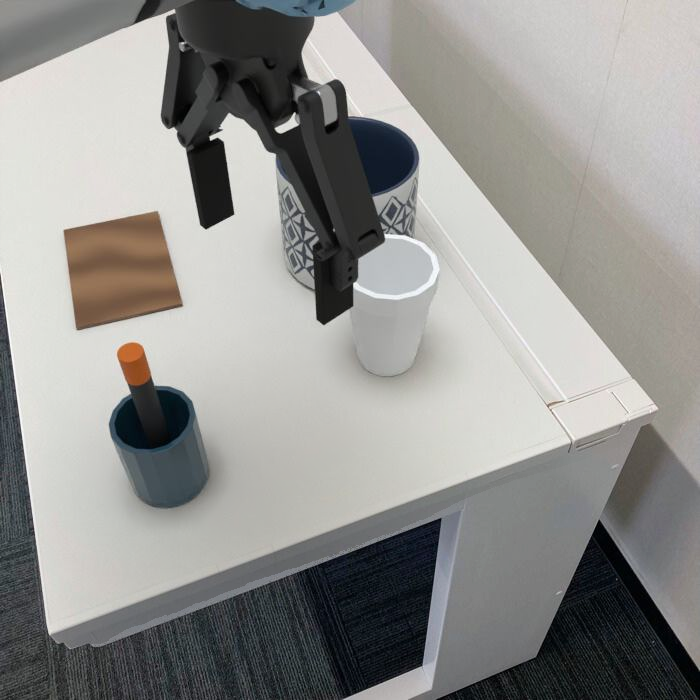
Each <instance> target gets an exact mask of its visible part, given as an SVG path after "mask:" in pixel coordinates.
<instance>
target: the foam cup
mask: <svg viewBox="0 0 700 700" xmlns="http://www.w3.org/2000/svg"><path fill="white" fill-rule="evenodd" d="M384 235H385V242H384V243H383V244H382V245H380V246H378V247H377V248H375V249H374V250H372V251H370V252H369V253H367V254H365V255H364V256H362V257H361V258H359V259H358V279H357V281H356V282H355V283H353V307H351V308H350V309H348V310H349V316H350V323H351V327H352V333H353V338H354V343H355V348H356V353H357V358H358V362H359V363H360V365H361V366H362V367H363V369H364V370H365V371H367V372H370V374H371V373H372V374H373V375H375V376H381V377H394V376H398V375H402V374H404V373H405V372H406V371H408V370H409V369H410V368H411V367H412V366H413V364H414V362H415V359H416V357H417V353H418V351H419V347H420V343H421V340H422V338H423V337H422V336H423V333H424V329H425V326H426V323H427V319H428V316H429V312H430V309H431V306H432V302H433V300H434V298H435V295H436V293H437V290H438V288H439V281H440V273H441V272H440V271H441V269H440V265H439V261H438V257H437V255H436V253H435V252H434V251H433V250H432V249H431V248H429V247H428V245H426V244H425V243H424V242H423V241H420V240H417V239H415V238H414V239H413V238H410V237H408V236H404V235H392V234H384Z"/></svg>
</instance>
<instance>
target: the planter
mask: <svg viewBox="0 0 700 700" xmlns="http://www.w3.org/2000/svg"><path fill="white" fill-rule="evenodd" d="M348 118H349V124H350V127H351V131H352V134H353V137H354V140H355V143H356V146H357V150H358V153H359V156H360V159H361V162H362V165H363V169H364V172H365V175H366V178H367V181H368V185H369V188H370V191H371V194H372V197H373V200H374V204H375V207H376V210H377V213H378V216H379V219H380V223H381V226H382V229H383V232H384V234H392V235H404V236H408V237H410V238H413V239H415V231H416V219H417V218H416V217H417V204H418V189H419V177H420V176H419V175H420V161H421V158H420V152H419V149H418V147H417V144H416V143H415V142H414V140H413V139H412V138H411V136H409V135H408V134H407V133H406V132H404V131H403V130H402V129H400V128H398V127H396V126H395V125H393V124H391V123H388V122H385V121H383V120H379V119H376V118H370V117H364V116H353V115H350V116H349V115H348ZM274 159H275V163H274V164H275V175H276V185H277V186H276V187H277V197H278V198H277V199H278V209H279V221H280V229H281V231H280V232H281V241H282V251H283V258H284V262H285V265H286V267H287V269H288V270H289V272H290V273H291V275H292V276H293V277H294V278H296V280H297V281H299V282H300V283H302V285H304V286H306V287H308V288H310V289H311V290H314V291H315V285H314V266H313V248H312V246H313V245H315V244H317V243H318V242H320V240H319V238H318V236H317V234H316V232H315V230H314V228H313V226H312V224H311V222H310V220H309V218H308V216H307V214H306V212H305V211H304V209H303V207H302V205H301V203H300V201H299V199H298V197H297V195H296V193H295V191H294V189H293V187H292V185H291V183H290V181H289V179H288V177H287V175H286V173H285V171H284V169H283V167H282V165H281V163H280V161H279V159H278V157H277V155H276V154H275V158H274ZM333 231H335V230H334V229H333Z"/></svg>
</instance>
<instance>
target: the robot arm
mask: <svg viewBox="0 0 700 700" xmlns="http://www.w3.org/2000/svg"><path fill="white" fill-rule="evenodd" d="M357 1H358V0H0V83H2V82H4V81H7V80H9V79H12V78H14V77H16V76H18V75H21V74H23V73H24V72H27V71H29V70H31V69H35V68H36V67H38V66H41V65H43V64H45V63H48V62H50V61H53V60H55V59H57V58H60V57H61V56H64V55H67V54H68V53H70V52H73V51H75V50H77V49H79V48H83V47H84V46H86V45H89V44H91V43H93V42H96V41H98V40H100V39H102V38H105V37H107V36H109V35H112V34H115V33H116V32H119V31H120V30H123V29H127V28H129V27H132V26H134V25H136V24H138V23H139V24H140V23H141V22H143V21H145V20H149V19H152V18H155V17H159V16H161V15H164V14H166V13H169V12H171V11H174V13H171V14H168V15H166V17H165V24H166V25H165V26H166V33H167V34H166V35H167V41H168V53H167V61H166V69H165V76H164V84H163V93H162V99H161V100H162V101H161V110H160V120H161V123H162V124H163V126H164V127H165V128H166V129H167V130H171V129H173V128H174V130H176V131H177V132H176V138H177V141H178V142H179V144H180V145H181V146H182V148H184V149H185V153H186V159H187V163H188V164H187V165H188V169H189V175H190V181H191V184H192V189H193V195H194V200H195V206H196V210H197V211H196V212H197V216H198V220H199V226H201V227H202V228H203V229H204V230H209V229H211V228H212V227H214V226H216V225H218V224H220V223H222V222H223V221H225V220H227V219H229V218H230V217H233V216H235V208H234V202H233V195H232V188H231V181H230V174H229V167H228V161H227V160H228V159H227V154H226V148H225V147H226V146H225V141H224V140H222V139H221V138H219V137H218V136H217V137H216V138H213V139H211V137H212V136H214V135H216V134H218V133H220V132H223V131H224V129H223V128H221V127H222V126H221V125H222V124H223V122H224V121H225V119H226V118H227V117H228V115H229V114H230V115H231V116H233V117H235V118H236V119H240V120H243V121H244V122H245V123H247V125H248V126H249V127H250V128H251V129H252V130H254V131H255V132H256V134H257V136H258V137H259V140H260V141H261V143H262V146H263V147H264V149H265V151H266V152H268V153H271V154H274V155H275V156H276V155H277V157H278V159H279V161H280V163H281V165H282V167H283V169H284V171H285V173H286V175H287V177H288V179H289V181H290V183H291V185H292V187H293V189H294V191H295V193H296V195H297V197H298V199H299V201H300V203H301V205H302V207H303V209H304V211H305V212H306V214H307V216H308V218H309V220H310V222H311V224H312V226H313V228H314V230H315V232H316V234H317V236H318V238H319V240H320V242H318V243H317V244H315V245H313V246H312V248H313V266H314V285H315V290H314V301H315V303H314V304H315V319H316V321H317V322H318V323H320V324H321V325H322V326H326V325H327V324H329V323H330V322H332V321H333V320H335V319H336V318H338V317H340V316H341V315H342V314H344V313H345V312H348V310H349V309H350V308H351V307H353V283H355V282H356V281H357V279H358V259H359V258H361V257H362V256H364V255H365V254H367V253H369V252H370V251H372V250H374V249H375V248H377V247H378V246H380V245H382V244H383V243H384V242H385V235H384V232H383V229H382V226H381V223H380V219H379V216H378V213H377V210H376V207H375V204H374V200H373V197H372V194H371V191H370V188H369V185H368V181H367V178H366V175H365V172H364V169H363V165H362V162H361V159H360V156H359V153H358V150H357V146H356V143H355V140H354V137H353V134H352V131H351V127H350V124H349V118H348V116H349V109H348V96H347V90H346V87H345V85H344V83H343V82H342V81H341V80H339V79H337V78H334V79H332V80H329V81H328V82H325V83H324V84H321V83H319V82H317V81H314V80H312V79H310V78H309V75H308V73H307V70H306V67H305V63H304V60H303V49H304V46H305V44H306V43H307V40H308V38H309V36H310V34H311V32H312V31H313V28H314V26H315V21H316V20H315V18H317V17H327V16H330V15H332V14H336V13H337V12H339V11H342V10H344V9H345V8H347V7H349V6H351V5H352V4H354V3H355V2H357ZM293 115H294V121H295V123H296V124H298V125H296V126H294V127H292V128H290V129H288V130H285V131H284V132H281V133H280V132H278V131H277V130H276V128H278V127H280V126H282V125H284V124H286V123H288V122H289V121H290V120H291V119H292V117H293ZM333 229H334V230H335V231H333Z"/></svg>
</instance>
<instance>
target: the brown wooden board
mask: <svg viewBox="0 0 700 700" xmlns="http://www.w3.org/2000/svg"><path fill="white" fill-rule="evenodd" d="M63 237H64V238H63V239H64V245H65V246H64V247H65V253H66V254H65V255H66V261H67V268H68V277H69V283H70V284H69V285H70V291H71V300H72V308H73V314H74V315H73V316H74V322H75V323H74V324H75V328H76V330H77V331H79V330H83V329H88V328H93V327H96V326H101V325H106V324H110V323H113V322H119V321H122V320H128V319H131V318H136V317H140V316H145V315H150V314H154V313H157V312H162V311H166V310H167V311H168V310H171V309H175V308H180V307H183V306H184V305H183V301H182V297H181V294H180V289H179V286H178V282H177V279H176V274H175V271H174V267H173V263H172V260H171V255H170V252H169V251H170V250H169V248H168V244H167V241H166V237H165V233H164V230H163V225H162V222H161V218H160V214H159V211H158V210H155V211H150V212H145V213H141V214H135V215H129V216H125V217H120V218H115V219H109V220H105V221H100V222H95V223H89V224H86V225H81V226H75V227H71V228H66V229H63Z"/></svg>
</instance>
